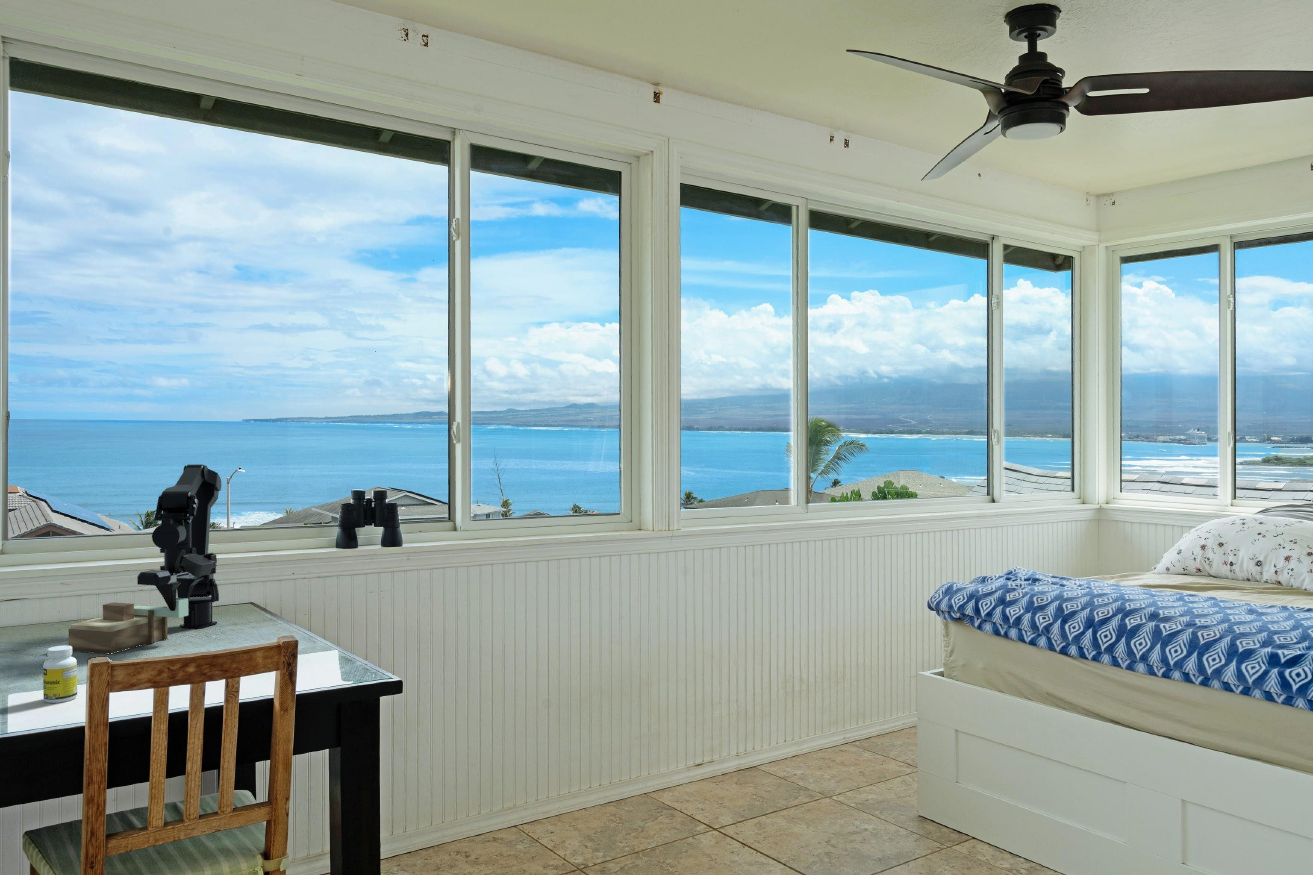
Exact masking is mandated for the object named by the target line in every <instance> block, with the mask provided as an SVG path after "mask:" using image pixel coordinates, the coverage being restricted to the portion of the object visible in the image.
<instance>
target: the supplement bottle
mask: <svg viewBox="0 0 1313 875" xmlns="http://www.w3.org/2000/svg"><path fill="white" fill-rule="evenodd" d="M46 651H47V653H46V654H47V655H46V656H47V657H48V659H47V660H46V661H44V663H43V664H42V665H43V667H42V673H43V674H42V675H43V677H42V678H43V681H42V684H43V687H42V688H43V694H42V695H43V701H44V702H45V703H46V704H47V703H48V704H59V703H67V702H69V701H72V700H75V699H76V698H77V697H78V663H77V662H78V660H77V659H76V658H75V657H74V656H72V655H73V651H72V646H69V645H56V646H52V647H49V648H47V650H46Z"/></svg>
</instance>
